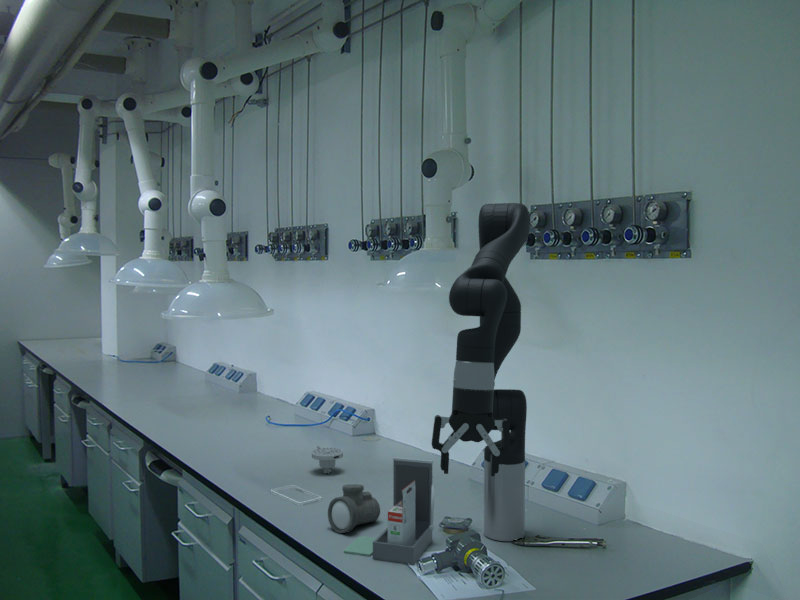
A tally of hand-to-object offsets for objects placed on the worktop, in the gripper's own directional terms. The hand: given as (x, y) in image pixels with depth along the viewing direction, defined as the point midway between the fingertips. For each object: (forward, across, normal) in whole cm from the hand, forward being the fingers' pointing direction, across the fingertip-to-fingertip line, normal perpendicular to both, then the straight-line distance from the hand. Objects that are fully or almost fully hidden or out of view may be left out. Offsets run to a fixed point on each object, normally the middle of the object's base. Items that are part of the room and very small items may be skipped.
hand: (468, 474), depth 125 cm
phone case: (+21, +40, -59) cm, 74 cm away
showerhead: (+19, +35, -82) cm, 90 cm away
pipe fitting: (+21, +22, -36) cm, 48 cm away
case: (+21, +11, -22) cm, 33 cm away
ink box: (+22, +11, -21) cm, 33 cm away
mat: (+22, +19, -24) cm, 38 cm away
